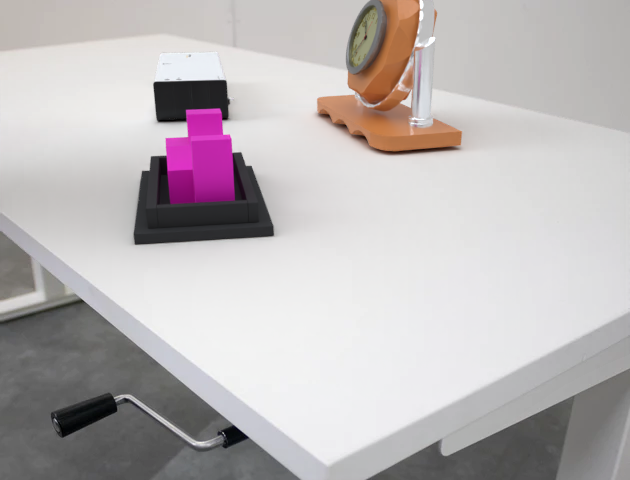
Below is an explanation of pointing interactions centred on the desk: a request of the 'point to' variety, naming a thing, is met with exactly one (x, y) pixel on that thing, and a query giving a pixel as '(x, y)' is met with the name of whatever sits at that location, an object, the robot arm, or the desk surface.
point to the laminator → (189, 84)
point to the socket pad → (199, 209)
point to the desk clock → (391, 78)
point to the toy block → (201, 160)
